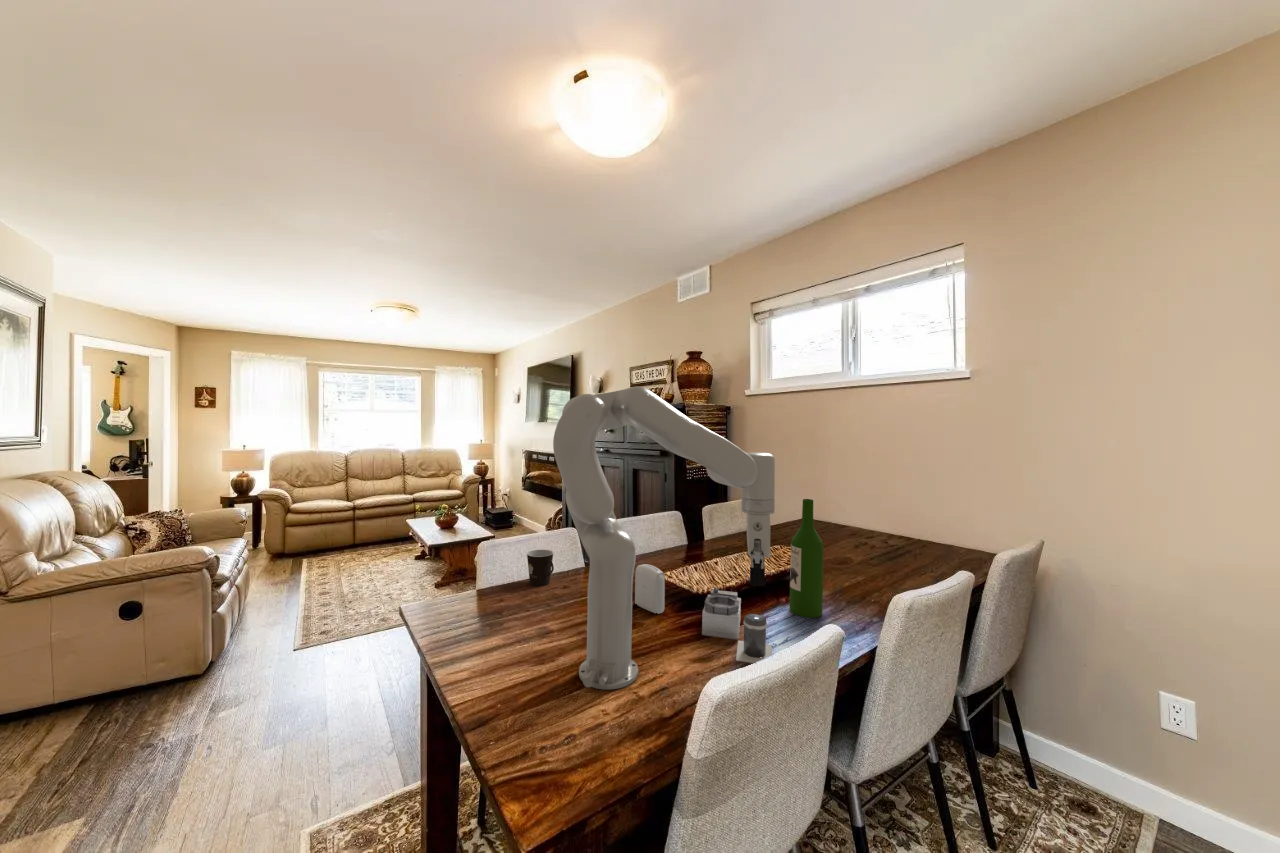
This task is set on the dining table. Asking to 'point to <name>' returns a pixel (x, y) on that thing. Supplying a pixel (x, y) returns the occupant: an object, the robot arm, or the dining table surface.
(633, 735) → the dining table surface
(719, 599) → the octagonal socket block
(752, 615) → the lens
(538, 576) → the coffee mug
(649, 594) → the photo printer
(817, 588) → the wine bottle
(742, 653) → the mat
